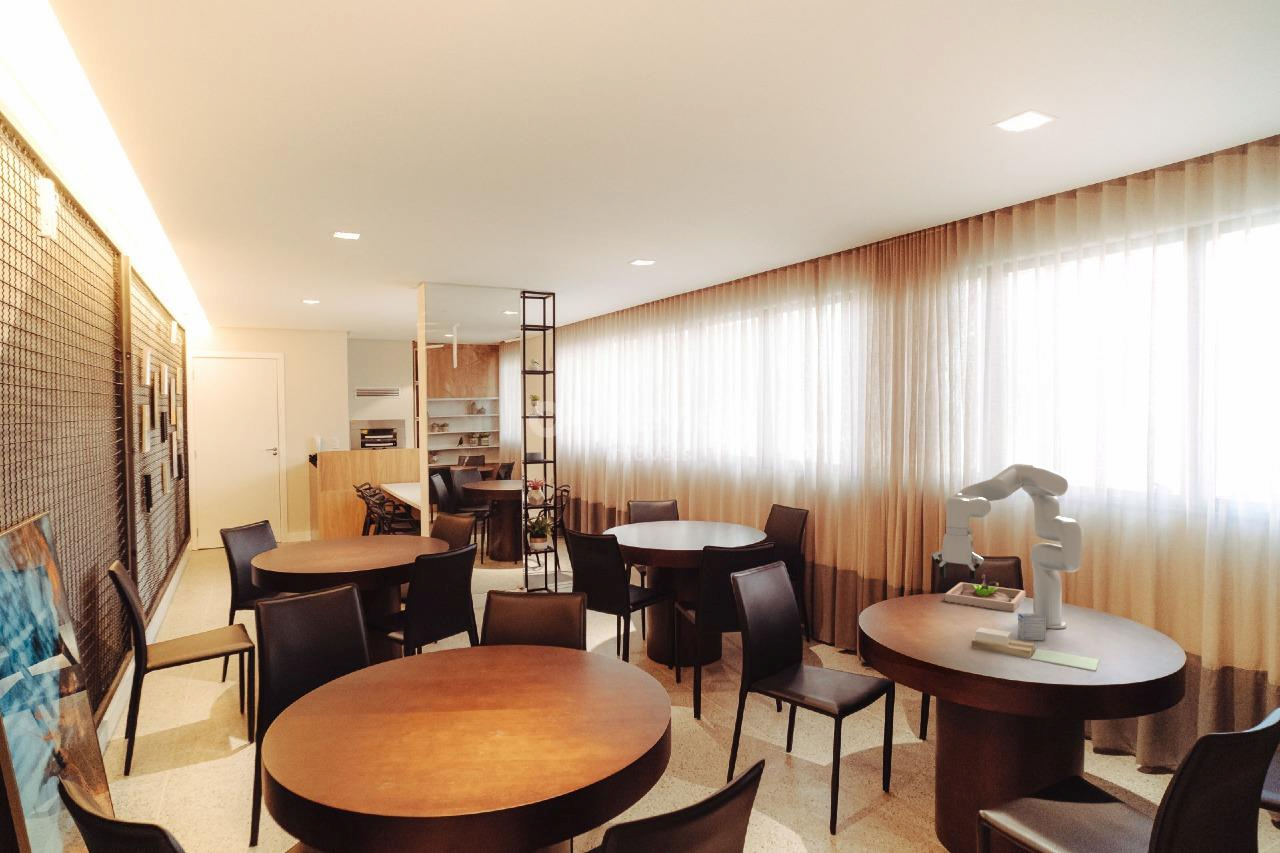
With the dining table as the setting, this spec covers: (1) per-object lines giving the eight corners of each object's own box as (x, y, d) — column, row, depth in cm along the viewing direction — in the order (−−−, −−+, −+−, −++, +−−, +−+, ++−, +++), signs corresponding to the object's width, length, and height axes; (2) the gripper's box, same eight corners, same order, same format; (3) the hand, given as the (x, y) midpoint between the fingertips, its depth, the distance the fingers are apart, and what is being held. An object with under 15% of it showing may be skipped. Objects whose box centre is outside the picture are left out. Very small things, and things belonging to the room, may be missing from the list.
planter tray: (960, 589, 323) (960, 582, 323) (1025, 598, 306) (1025, 590, 306) (945, 601, 302) (945, 593, 302) (1014, 612, 285) (1014, 603, 285)
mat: (1036, 649, 238) (1036, 648, 238) (1099, 660, 227) (1099, 659, 227) (1031, 659, 229) (1031, 658, 229) (1095, 671, 218) (1095, 670, 218)
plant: (1006, 597, 310) (1006, 572, 310) (1013, 608, 292) (1013, 582, 292) (958, 593, 317) (958, 569, 317) (962, 604, 299) (961, 578, 299)
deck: (978, 640, 249) (978, 633, 249) (1034, 650, 238) (1034, 643, 238) (971, 647, 241) (971, 640, 241) (1029, 658, 230) (1029, 651, 230)
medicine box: (1040, 636, 253) (1040, 613, 252) (1046, 640, 248) (1046, 616, 248) (1017, 636, 253) (1017, 613, 253) (1023, 640, 249) (1023, 616, 249)
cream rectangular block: (979, 635, 247) (979, 627, 247) (1011, 640, 241) (1011, 632, 241) (976, 639, 242) (976, 631, 242) (1007, 645, 236) (1007, 636, 236)
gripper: (986, 532, 246) (986, 580, 246) (935, 528, 256) (935, 574, 257) (981, 535, 240) (981, 584, 240) (929, 530, 250) (929, 577, 251)
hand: (957, 579), depth 248 cm, fingers open, 9 cm apart
